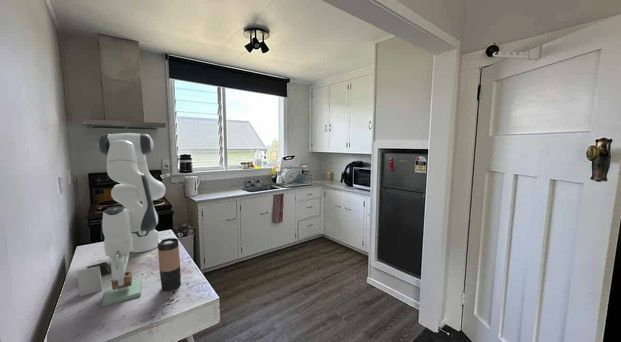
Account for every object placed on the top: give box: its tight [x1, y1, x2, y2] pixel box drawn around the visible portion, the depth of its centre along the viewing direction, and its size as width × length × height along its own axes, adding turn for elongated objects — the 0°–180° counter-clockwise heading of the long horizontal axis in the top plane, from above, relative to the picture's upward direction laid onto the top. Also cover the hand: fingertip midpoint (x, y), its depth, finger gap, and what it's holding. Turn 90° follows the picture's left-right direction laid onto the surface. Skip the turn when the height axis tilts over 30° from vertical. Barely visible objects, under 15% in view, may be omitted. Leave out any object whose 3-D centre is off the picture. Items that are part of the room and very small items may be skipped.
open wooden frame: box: [110, 269, 133, 290], centre depth 101 cm, size 6×6×4 cm
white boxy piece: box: [77, 266, 103, 297], centre depth 103 cm, size 4×7×10 cm, turn 128°
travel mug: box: [157, 237, 182, 292], centre depth 105 cm, size 8×8×20 cm
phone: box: [86, 261, 112, 278], centre depth 120 cm, size 8×1×15 cm
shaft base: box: [101, 278, 143, 307], centre depth 102 cm, size 12×12×6 cm
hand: (122, 280), depth 101 cm, fingers closed on open wooden frame, 6 cm apart
